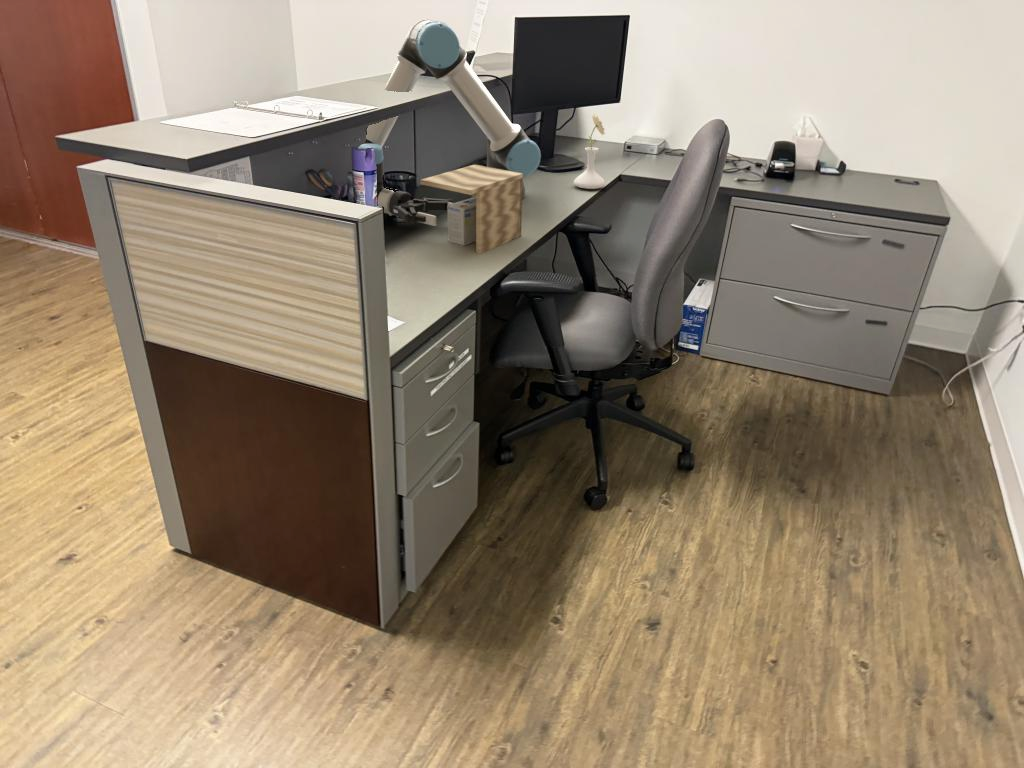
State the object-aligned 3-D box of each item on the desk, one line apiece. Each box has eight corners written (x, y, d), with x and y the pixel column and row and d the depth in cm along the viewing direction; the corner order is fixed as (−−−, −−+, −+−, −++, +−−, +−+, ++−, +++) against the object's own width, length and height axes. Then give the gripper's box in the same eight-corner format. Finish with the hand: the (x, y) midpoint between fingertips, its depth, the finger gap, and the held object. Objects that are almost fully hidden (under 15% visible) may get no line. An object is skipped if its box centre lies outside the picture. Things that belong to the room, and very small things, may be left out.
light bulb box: (471, 232, 223) (471, 196, 218) (489, 237, 219) (489, 201, 214) (446, 241, 216) (446, 203, 210) (464, 246, 212) (463, 208, 207)
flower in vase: (603, 192, 268) (610, 119, 256) (572, 190, 269) (576, 117, 257) (605, 183, 279) (611, 112, 267) (575, 181, 281) (579, 111, 269)
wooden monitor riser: (474, 225, 230) (474, 164, 221) (521, 235, 221) (522, 173, 213) (422, 244, 212) (420, 179, 203) (470, 257, 204) (470, 190, 195)
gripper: (424, 206, 238) (477, 218, 228) (367, 224, 220) (422, 238, 210) (423, 182, 235) (477, 194, 224) (366, 199, 217) (421, 212, 206)
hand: (451, 215), depth 217 cm, fingers open, 13 cm apart
